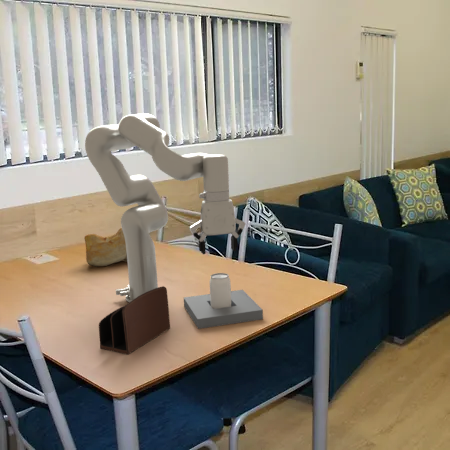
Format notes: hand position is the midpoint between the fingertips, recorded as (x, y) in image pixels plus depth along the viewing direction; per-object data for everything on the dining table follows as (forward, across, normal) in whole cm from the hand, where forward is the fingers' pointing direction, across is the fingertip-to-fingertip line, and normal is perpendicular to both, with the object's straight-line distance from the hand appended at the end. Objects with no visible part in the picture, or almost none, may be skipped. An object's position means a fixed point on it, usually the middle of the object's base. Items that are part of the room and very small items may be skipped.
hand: (218, 251), depth 177 cm
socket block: (+20, 0, 0) cm, 20 cm away
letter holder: (+20, -28, -10) cm, 36 cm away
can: (+20, 0, 0) cm, 20 cm away
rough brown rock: (+21, -27, +75) cm, 82 cm away
